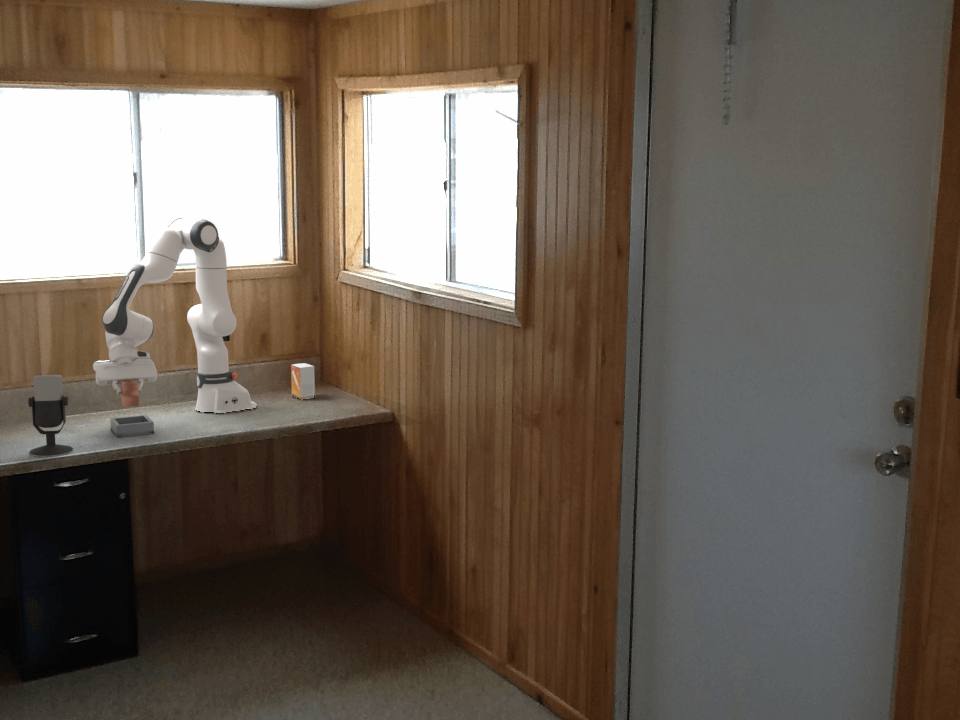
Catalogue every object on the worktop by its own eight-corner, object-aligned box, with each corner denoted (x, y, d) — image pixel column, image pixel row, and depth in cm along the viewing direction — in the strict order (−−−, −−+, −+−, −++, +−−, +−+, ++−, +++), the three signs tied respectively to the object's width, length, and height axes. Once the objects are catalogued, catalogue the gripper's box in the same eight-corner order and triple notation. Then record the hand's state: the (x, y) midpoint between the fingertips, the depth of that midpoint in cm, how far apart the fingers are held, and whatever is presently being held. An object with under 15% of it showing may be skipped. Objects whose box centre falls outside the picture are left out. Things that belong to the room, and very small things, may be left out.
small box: (291, 397, 446) (290, 364, 444) (306, 395, 450) (305, 362, 447) (300, 400, 439) (300, 367, 437) (315, 398, 443) (314, 365, 441)
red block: (136, 403, 391) (135, 380, 390) (139, 405, 387) (138, 382, 385) (121, 404, 389) (120, 381, 387) (123, 407, 384) (122, 383, 383)
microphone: (75, 445, 370) (71, 370, 366) (69, 456, 358) (64, 377, 353) (33, 447, 368) (28, 371, 363) (26, 457, 355) (20, 379, 351)
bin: (146, 426, 398) (146, 414, 397) (154, 433, 387) (153, 422, 386) (110, 429, 392) (110, 418, 391) (117, 437, 381) (116, 425, 381)
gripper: (92, 356, 387) (98, 389, 380) (154, 352, 396) (160, 385, 389) (91, 366, 391) (97, 400, 384) (151, 363, 401) (158, 395, 394)
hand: (129, 392), depth 387 cm, fingers closed on red block, 5 cm apart
